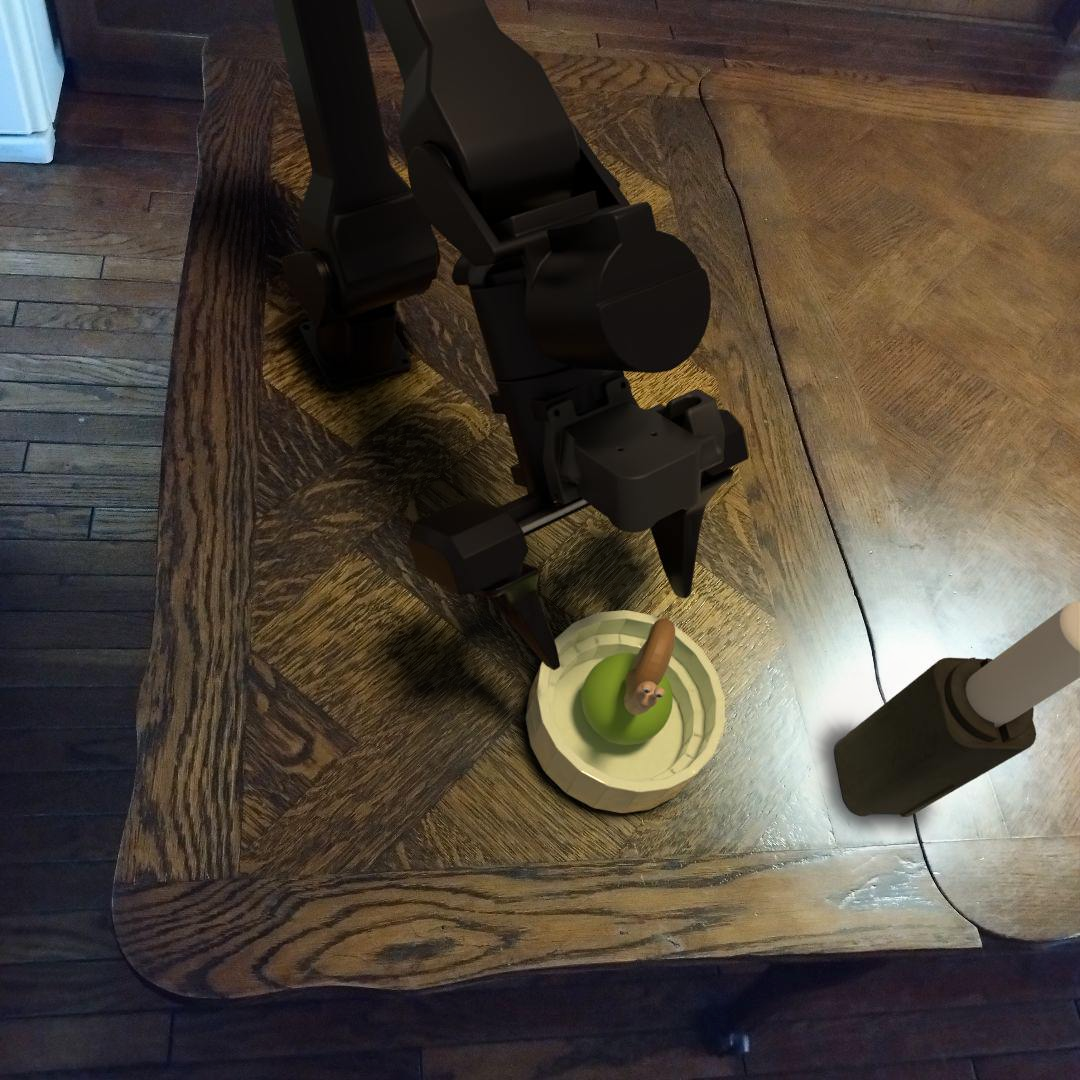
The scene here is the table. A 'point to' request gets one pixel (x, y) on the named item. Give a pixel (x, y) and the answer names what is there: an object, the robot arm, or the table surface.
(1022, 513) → the table surface
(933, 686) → the candle
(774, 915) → the table surface
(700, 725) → the bowl
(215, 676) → the table surface
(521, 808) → the table surface
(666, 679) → the snail figurine
